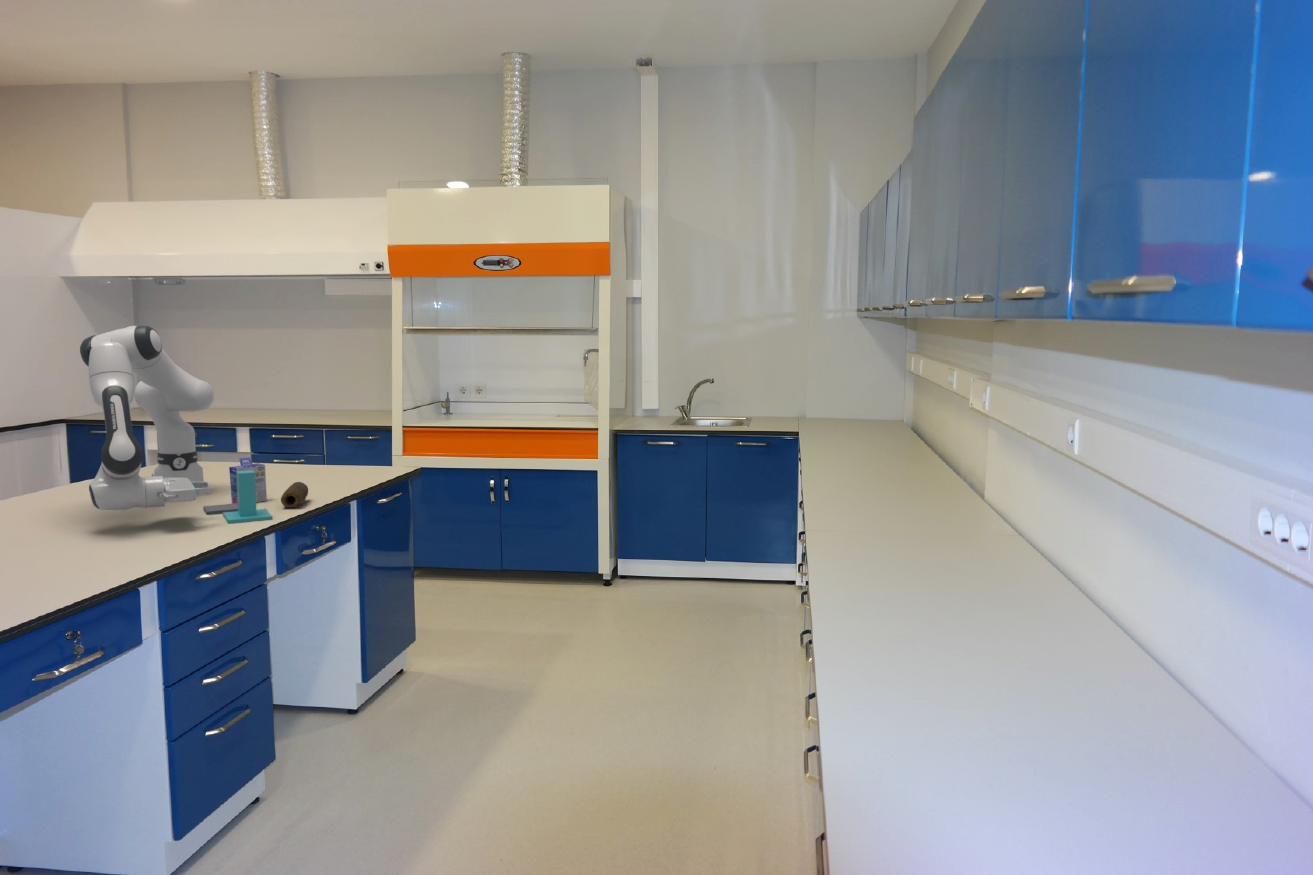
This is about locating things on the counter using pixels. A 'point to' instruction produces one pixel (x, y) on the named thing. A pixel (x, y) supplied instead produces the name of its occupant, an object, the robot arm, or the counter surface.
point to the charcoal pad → (220, 508)
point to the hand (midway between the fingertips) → (210, 487)
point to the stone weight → (294, 495)
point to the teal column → (246, 493)
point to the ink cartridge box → (259, 479)
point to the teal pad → (235, 517)
